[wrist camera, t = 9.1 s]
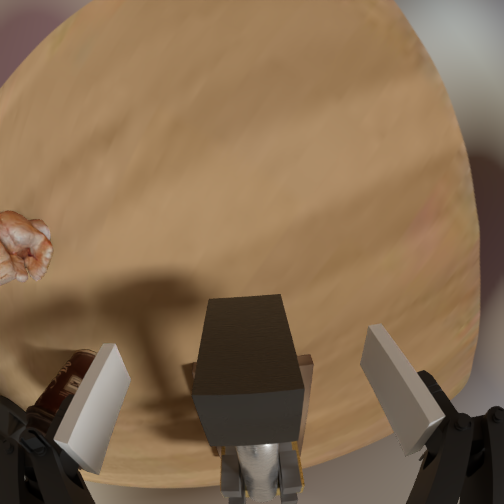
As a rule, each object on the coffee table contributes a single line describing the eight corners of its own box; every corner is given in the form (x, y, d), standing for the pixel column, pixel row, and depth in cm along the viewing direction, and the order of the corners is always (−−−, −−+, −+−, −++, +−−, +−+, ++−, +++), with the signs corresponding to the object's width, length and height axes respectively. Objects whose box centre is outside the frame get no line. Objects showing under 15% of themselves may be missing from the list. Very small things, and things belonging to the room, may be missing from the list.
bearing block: (222, 455, 34) (221, 524, 22) (193, 362, 26) (175, 473, 14) (298, 450, 34) (310, 518, 22) (310, 354, 26) (343, 462, 14)
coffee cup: (139, 376, 27) (107, 470, 15) (112, 400, 29) (83, 478, 17) (78, 329, 25) (21, 413, 13) (59, 361, 27) (15, 433, 14)
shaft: (242, 465, 23) (243, 518, 16) (208, 298, 15) (191, 395, 9) (278, 463, 23) (285, 516, 16) (280, 294, 15) (304, 388, 9)
